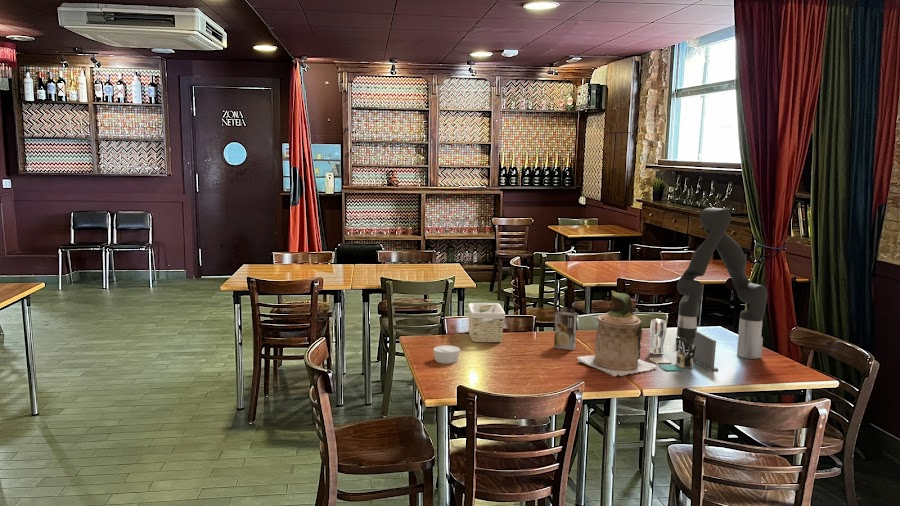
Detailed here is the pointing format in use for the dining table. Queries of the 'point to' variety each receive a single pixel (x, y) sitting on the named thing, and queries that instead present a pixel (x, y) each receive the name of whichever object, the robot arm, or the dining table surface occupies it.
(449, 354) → the ramekin
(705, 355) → the screen
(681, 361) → the beige cube
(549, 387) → the dining table surface
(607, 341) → the cookie jar
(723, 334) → the dining table surface
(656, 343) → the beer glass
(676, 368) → the pad
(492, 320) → the storage basket
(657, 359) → the pad
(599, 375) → the dining table surface
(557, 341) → the coffee box
